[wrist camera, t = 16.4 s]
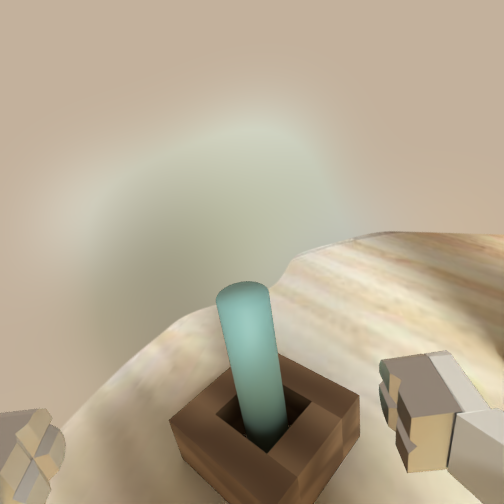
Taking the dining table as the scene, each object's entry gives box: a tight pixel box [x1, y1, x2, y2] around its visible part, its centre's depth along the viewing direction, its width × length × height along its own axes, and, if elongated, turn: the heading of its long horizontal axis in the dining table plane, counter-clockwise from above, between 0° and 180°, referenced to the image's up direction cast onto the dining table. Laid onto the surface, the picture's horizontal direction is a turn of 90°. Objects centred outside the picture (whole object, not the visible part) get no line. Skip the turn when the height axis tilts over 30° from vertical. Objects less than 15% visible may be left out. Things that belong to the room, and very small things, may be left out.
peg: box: [216, 281, 289, 454], centre depth 29 cm, size 4×4×16 cm
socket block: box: [169, 353, 360, 504], centre depth 31 cm, size 11×11×5 cm
